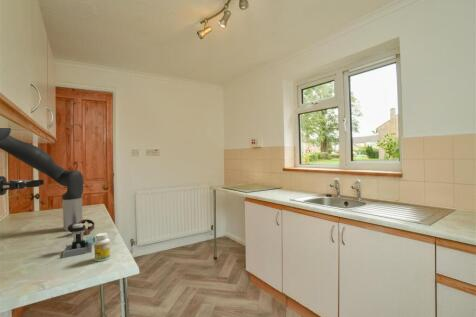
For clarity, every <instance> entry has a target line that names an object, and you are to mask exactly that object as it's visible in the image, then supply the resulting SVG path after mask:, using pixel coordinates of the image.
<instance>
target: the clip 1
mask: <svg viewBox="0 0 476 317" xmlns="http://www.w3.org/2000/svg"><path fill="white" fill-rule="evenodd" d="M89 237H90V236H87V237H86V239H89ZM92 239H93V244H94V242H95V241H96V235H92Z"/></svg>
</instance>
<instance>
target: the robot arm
mask: <svg viewBox="0 0 476 317" xmlns="http://www.w3.org/2000/svg"><path fill="white" fill-rule="evenodd" d="M11 132H12V128H0V150H2V151H4V152H6V153H7V154H9V155H10V156H12V157H14V158H15V159H18V160H20V161H21V162H22V163H24V164H26V165H28V166H29V167H31V168H33V169H35V170H37V171H38V172H41V173H42V174H43V175H46V176H47V177H49V178H51V179H52V180H53V181H54V182H56V183H58V185H60V186H63V187H66V192H64V193H63V194H62V196H61V198H62V202H61V204H62V205H61V206H62V221H63V222H62V225H63V231H65V232H67V231H68V229H67V228H68V226H69V225H71V224H77V223H79V222H80V221H81V220H83V218H84V216H83V200H82V199H83V198H82V196H83V193H84V176H83V173H82V172H81V171H79V170H66V169H65V168H64V167H61V166H59V165H58V164H57V163H56V162H55V160H54V159H53V157H52V156H51V155H50V154H49V153H47V152H46V151H44V150H43V149H42V148H40V147H38V146H36V145H33V144H31V143H28V142H26V141H22V140H19V139H18V138H15V137H13V136H12V135H11ZM44 184H45V180H44V179H10V180H9V181H7V178H6V177H5V176H3V175H0V196H5V195H6V194H7V191H8V190H9V191H17V190H24V189H27V188H38V187H40V186H43V185H44ZM68 232H69V231H68Z"/></svg>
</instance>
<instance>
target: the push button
mask: <svg viewBox="0 0 476 317" xmlns="http://www.w3.org/2000/svg"><path fill="white" fill-rule="evenodd" d="M85 226H86V225H84V224H82V223H79V224H74V225H73V227H71V228H70V229H71V232H70V233H72V232H73V233H72V237H73V240H72V242H71V244H72V245H71V244H68V245H69V246H72V247H70V248H72V249H76V248H81V247H85V240H86V239H85V238H84V235H83V233H84V231H85V230H84V229H85V228H86V227H85ZM83 230H84V231H83ZM67 247H68V246H67ZM67 249H68V248H67Z"/></svg>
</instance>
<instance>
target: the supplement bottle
mask: <svg viewBox="0 0 476 317" xmlns="http://www.w3.org/2000/svg"><path fill="white" fill-rule="evenodd" d="M108 237H109V236H108V233H107V232H101V233H97V234H95V242H94V243H93V246H94V260H95V261H96V262H104V261H107V260H109V259H111V241H110V240H111V239H110V238H108Z"/></svg>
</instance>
